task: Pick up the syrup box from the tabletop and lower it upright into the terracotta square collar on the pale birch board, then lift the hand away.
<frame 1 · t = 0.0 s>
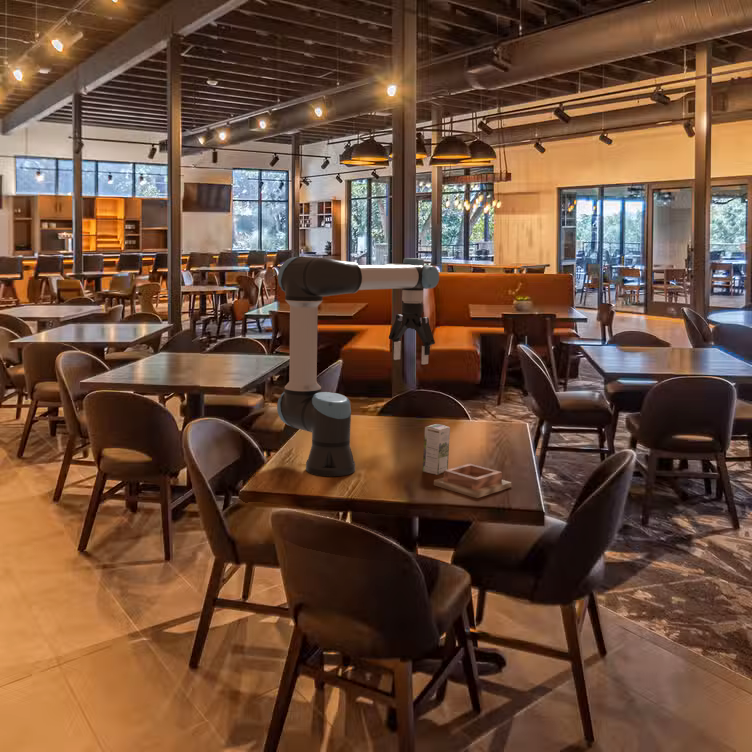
hand: (410, 361, 285), 28 cm above the table, tool pointing down, fingers open, 13 cm apart
syrup box: (435, 472, 247), on the table
socket board: (472, 486, 233), on the table
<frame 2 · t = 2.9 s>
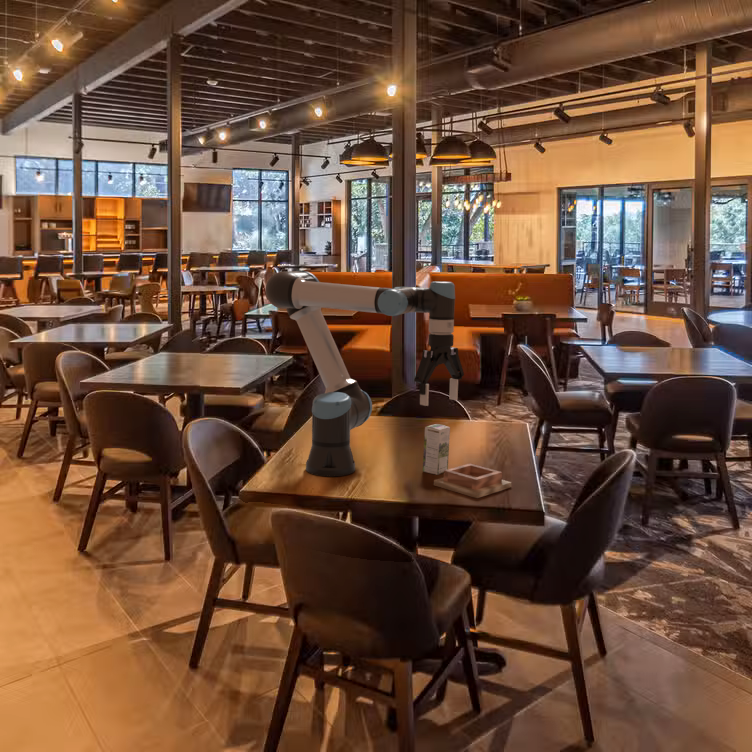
hand: (439, 402, 244), 22 cm above the table, tool pointing down, fingers open, 13 cm apart
nothing on the table moved.
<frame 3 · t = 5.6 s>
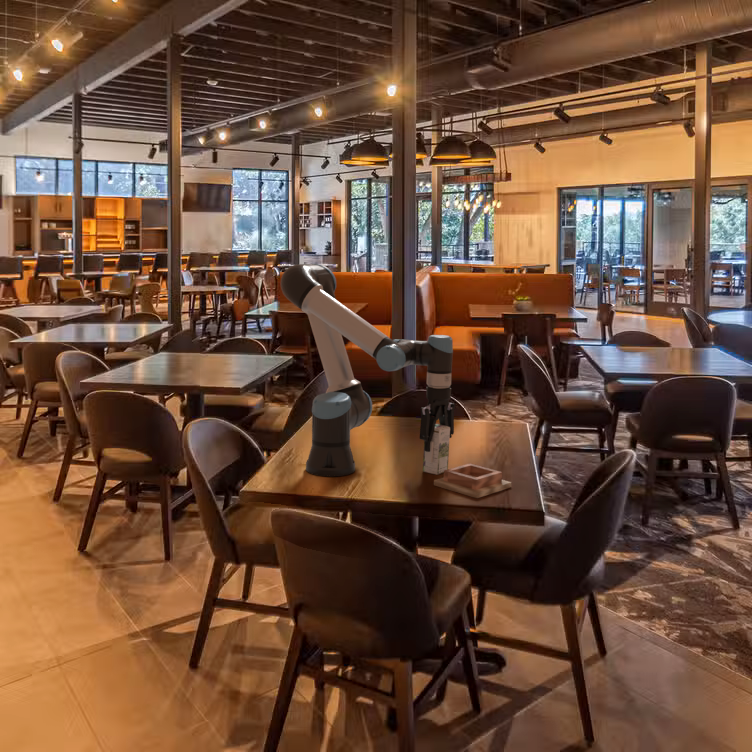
hand: (435, 459, 247), 4 cm above the table, tool pointing down, fingers closed on syrup box, 6 cm apart
syrup box: (435, 472, 247), on the table, touching gripper
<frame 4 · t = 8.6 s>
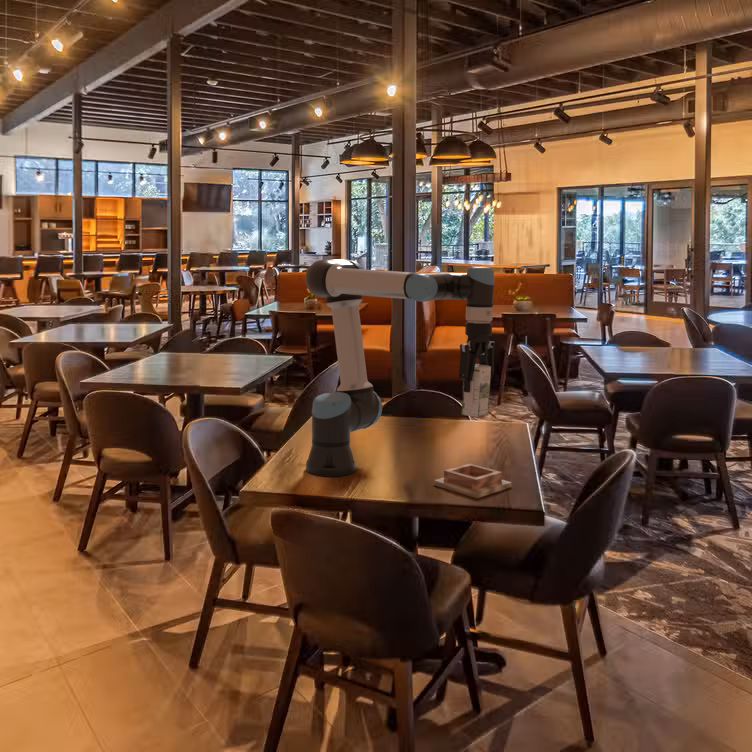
hand: (475, 401, 230), 25 cm above the table, tool pointing down, fingers closed on syrup box, 6 cm apart
syrup box: (475, 415, 230), point 21 cm above the table, touching gripper
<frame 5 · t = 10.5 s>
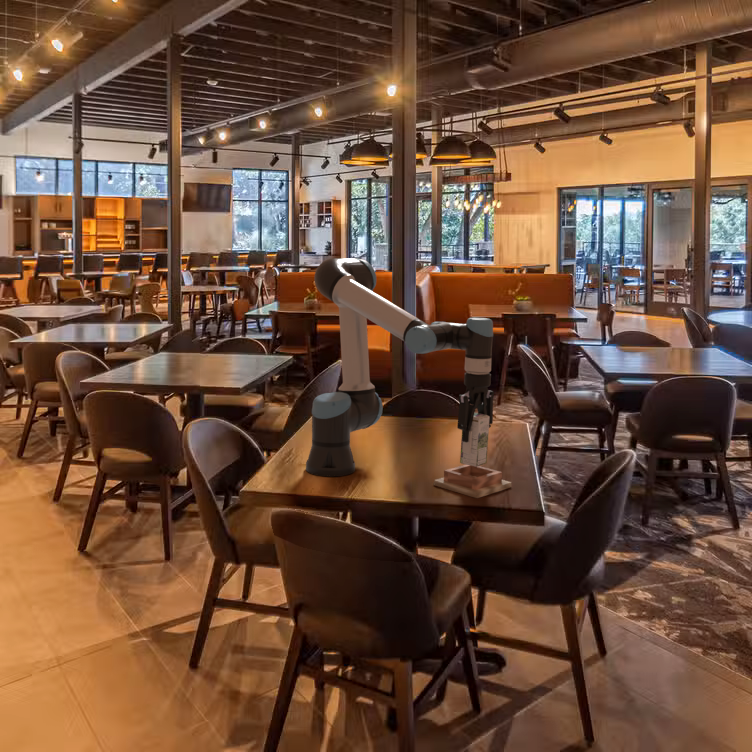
hand: (474, 450, 232), 11 cm above the table, tool pointing down, fingers closed on syrup box, 6 cm apart
syrup box: (473, 464, 232), point 7 cm above the table, touching gripper
when the fingers open (7 cm above the table, at t = 12.0 s): syrup box drops 1 cm, resting on socket board.
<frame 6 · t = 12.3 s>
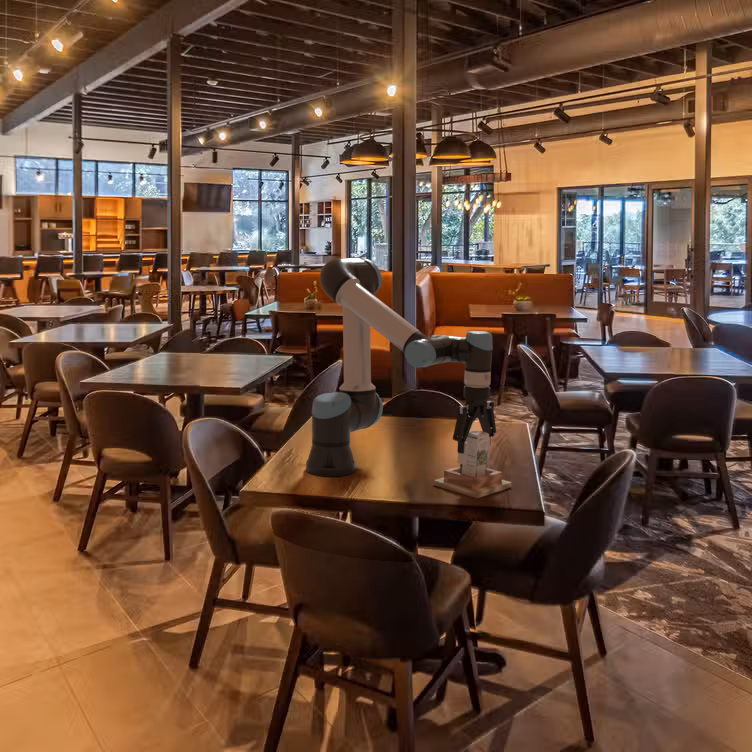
hand: (473, 460, 232), 8 cm above the table, tool pointing down, fingers open, 10 cm apart
syrup box: (472, 481, 233), point 1 cm above the table, touching socket board
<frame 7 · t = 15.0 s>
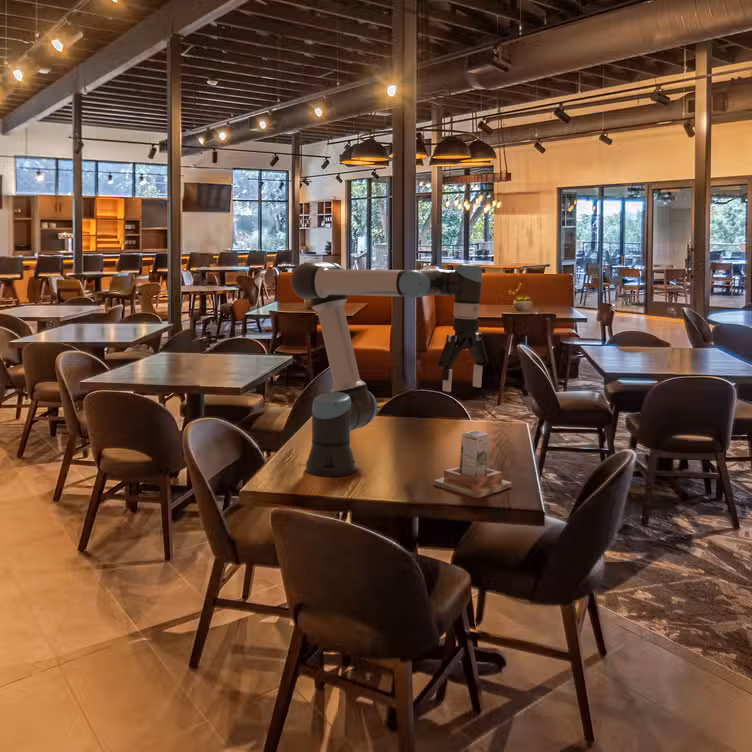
hand: (462, 389, 237), 27 cm above the table, tool pointing down, fingers open, 13 cm apart
nothing on the table moved.
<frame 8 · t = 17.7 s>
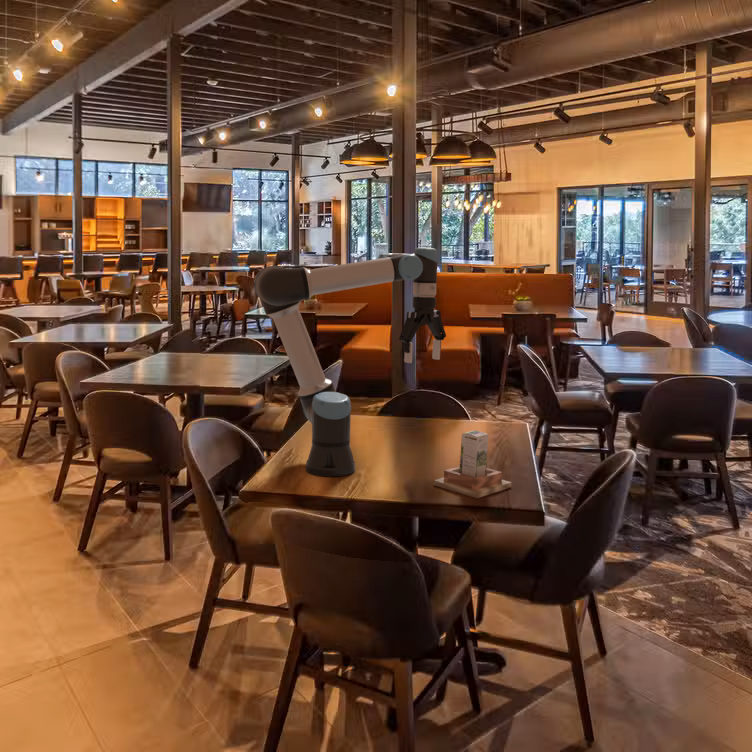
hand: (422, 361, 262), 32 cm above the table, tool pointing down, fingers open, 13 cm apart
nothing on the table moved.
at the end: syrup box 0.0 cm off-centre on the socket board, point 1.3 cm above the socket board's base; syrup box tilted 0°; the gripper is holding nothing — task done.
